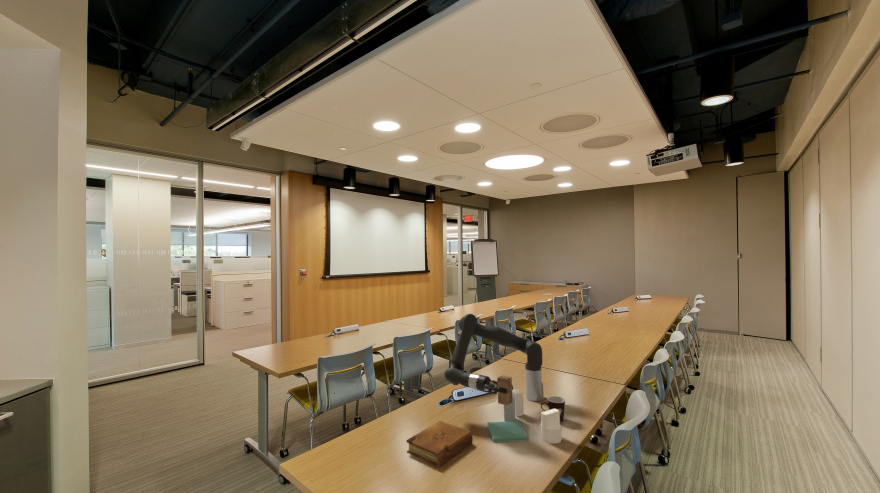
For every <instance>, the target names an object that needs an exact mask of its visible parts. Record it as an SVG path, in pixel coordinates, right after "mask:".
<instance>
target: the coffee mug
mask: <svg viewBox="0 0 880 493" xmlns="http://www.w3.org/2000/svg"><path fill="white" fill-rule="evenodd" d="M544 404H546V405H547V406H548V410H551V409H554V408H555V409H557V410H559V414H560V423H562V422H564V418H565V408H566V407H565V406H566V398H564V397H561V396H556V395H555V396H547V401H543V402H542V403H541V404H540V408H541V409H542V411H543V412H544V411H546V410H545V409H544V408H543V405H544Z"/></svg>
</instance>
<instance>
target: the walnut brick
mask: <svg viewBox="0 0 880 493" xmlns="http://www.w3.org/2000/svg"><path fill="white" fill-rule="evenodd" d="M512 379H513V376H509V375H505V374H501V375H499V376H498V377H497V379H496V381H497V382H498V387H501V388H505V389H507V390H508V393H507V394H504V393H497V403H498V404H499V405H503V406H504V405H507V406H508V405H509V404H511V403H512V385H513V380H512Z"/></svg>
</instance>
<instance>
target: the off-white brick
mask: <svg viewBox="0 0 880 493" xmlns="http://www.w3.org/2000/svg"><path fill="white" fill-rule="evenodd" d="M512 395H515V418H518V417H522V416H524V414H525V412H524V409H525V407H524V392H523V391H522V390H520V389H518V388H513V390H512Z"/></svg>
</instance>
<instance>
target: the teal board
mask: <svg viewBox="0 0 880 493" xmlns="http://www.w3.org/2000/svg"><path fill="white" fill-rule="evenodd" d="M486 424H487V429H488V431H489V434H490V437H491V441H492V442H493V443H496V442H497V443H500V442H501V441H502V442H520V441H521V442H523V441H529V438H528V434H527V433H526V431H525V429H524V427H523V425H522V423H521V422H520V421H519V420H515V421H489V422H487V423H486Z"/></svg>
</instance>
